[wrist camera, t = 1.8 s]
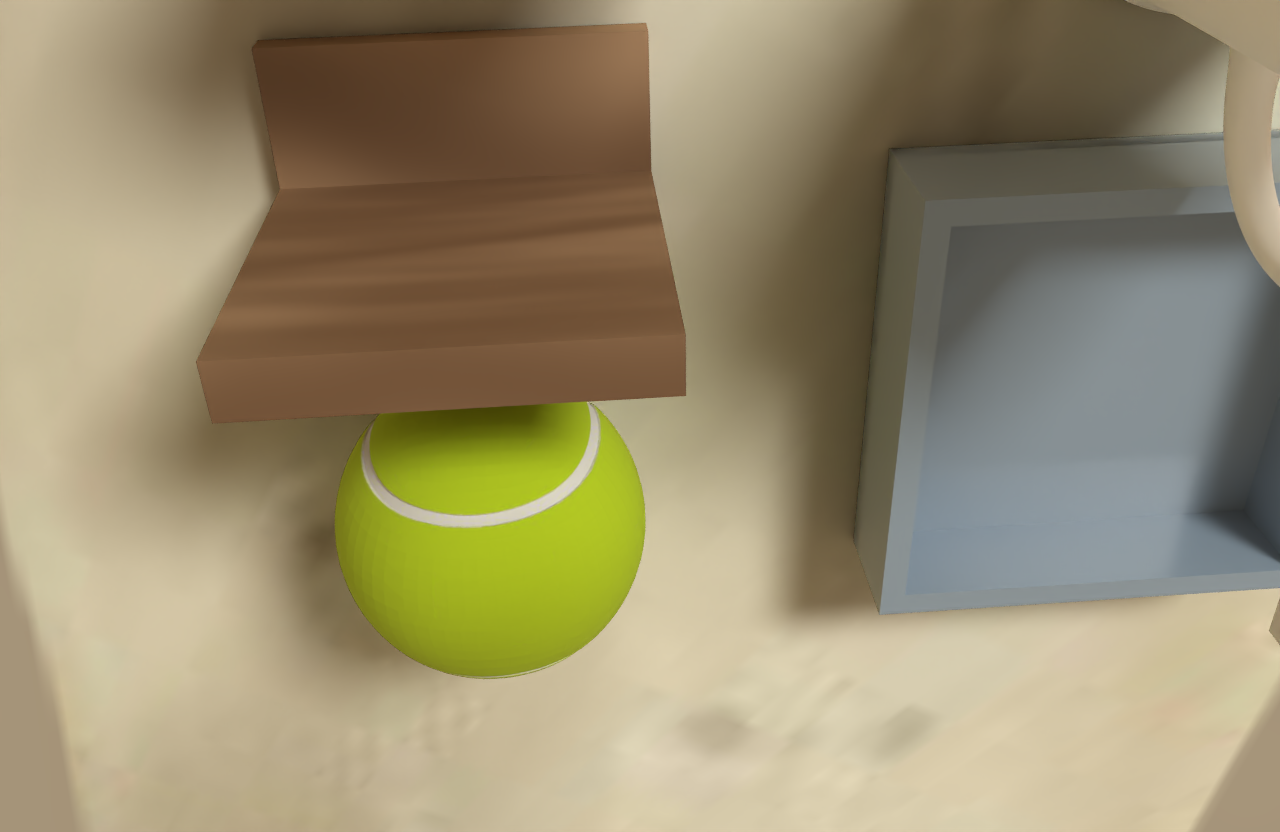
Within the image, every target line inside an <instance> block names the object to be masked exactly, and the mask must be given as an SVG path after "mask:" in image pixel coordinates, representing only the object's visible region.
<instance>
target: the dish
mask: <svg viewBox="0 0 1280 832" xmlns="http://www.w3.org/2000/svg"><path fill="white" fill-rule="evenodd" d="M1271 160H1272V171H1273V179H1274V185H1275V190H1276V195H1277V199H1278V203H1279V206H1280V130H1271ZM853 541H854V544H855V546H856V549H857V552H858V555H859V558H860V561H861V564H862V566H863V569H864V572H865V575H866V578H867V581H868V584H869V586H870V589H871V592H872V595H873V598H874V601H875V603H876V606H877V609H878V612H879V615H883V614H898V613H913V612H928V611H943V610H958V609H972V608H987V607H1002V606H1017V605H1032V604H1047V603H1062V602H1077V601H1092V600H1107V599H1122V598H1137V597H1152V596H1167V595H1182V594H1197V593H1212V592H1227V591H1241V590H1256V589H1271V588H1280V287H1279V286H1278V285H1277V284H1276V283H1275V282H1274V281H1273V280H1272V279H1271V278H1270V277H1269V276H1268V274H1267V273H1266V272H1265V271H1264V269H1263V268H1262V267H1261V265H1260V264H1259V263H1258V261H1257V260H1256V258H1255V257H1254V255H1253V253H1252V252H1251V250H1250V248H1249V246H1248V244H1247V242H1246V240H1245V238H1244V236H1243V233H1242V231H1241V229H1240V226H1239V223H1238V221H1237V218H1236V215H1235V211H1234V208H1233V204H1232V200H1231V196H1230V192H1229V186H1228V181H1227V174H1226V167H1225V157H1224V138H1223V132H1222V133H1202V134H1182V135H1162V136H1141V137H1121V138H1101V139H1081V140H1060V141H1040V142H1020V143H1000V144H979V145H959V146H939V147H918V148H898V149H889V158H888V169H887V180H886V191H885V202H884V213H883V224H882V234H881V245H880V256H879V267H878V278H877V289H876V300H875V311H874V322H873V333H872V344H871V355H870V366H869V377H868V387H867V398H866V409H865V420H864V431H863V442H862V453H861V464H860V475H859V486H858V497H857V508H856V519H855V530H854V540H853Z"/></svg>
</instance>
